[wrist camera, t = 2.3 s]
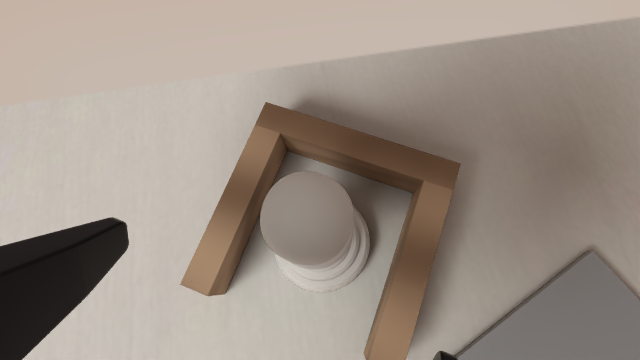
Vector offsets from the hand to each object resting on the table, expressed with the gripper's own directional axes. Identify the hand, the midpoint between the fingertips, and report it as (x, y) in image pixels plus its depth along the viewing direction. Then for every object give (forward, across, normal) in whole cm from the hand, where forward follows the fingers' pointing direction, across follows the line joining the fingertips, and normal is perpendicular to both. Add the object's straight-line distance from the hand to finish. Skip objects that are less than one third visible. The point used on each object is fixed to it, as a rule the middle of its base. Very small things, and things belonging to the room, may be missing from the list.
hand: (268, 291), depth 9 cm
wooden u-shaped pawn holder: (+9, 0, +5) cm, 10 cm away
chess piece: (+9, 0, +5) cm, 10 cm away
